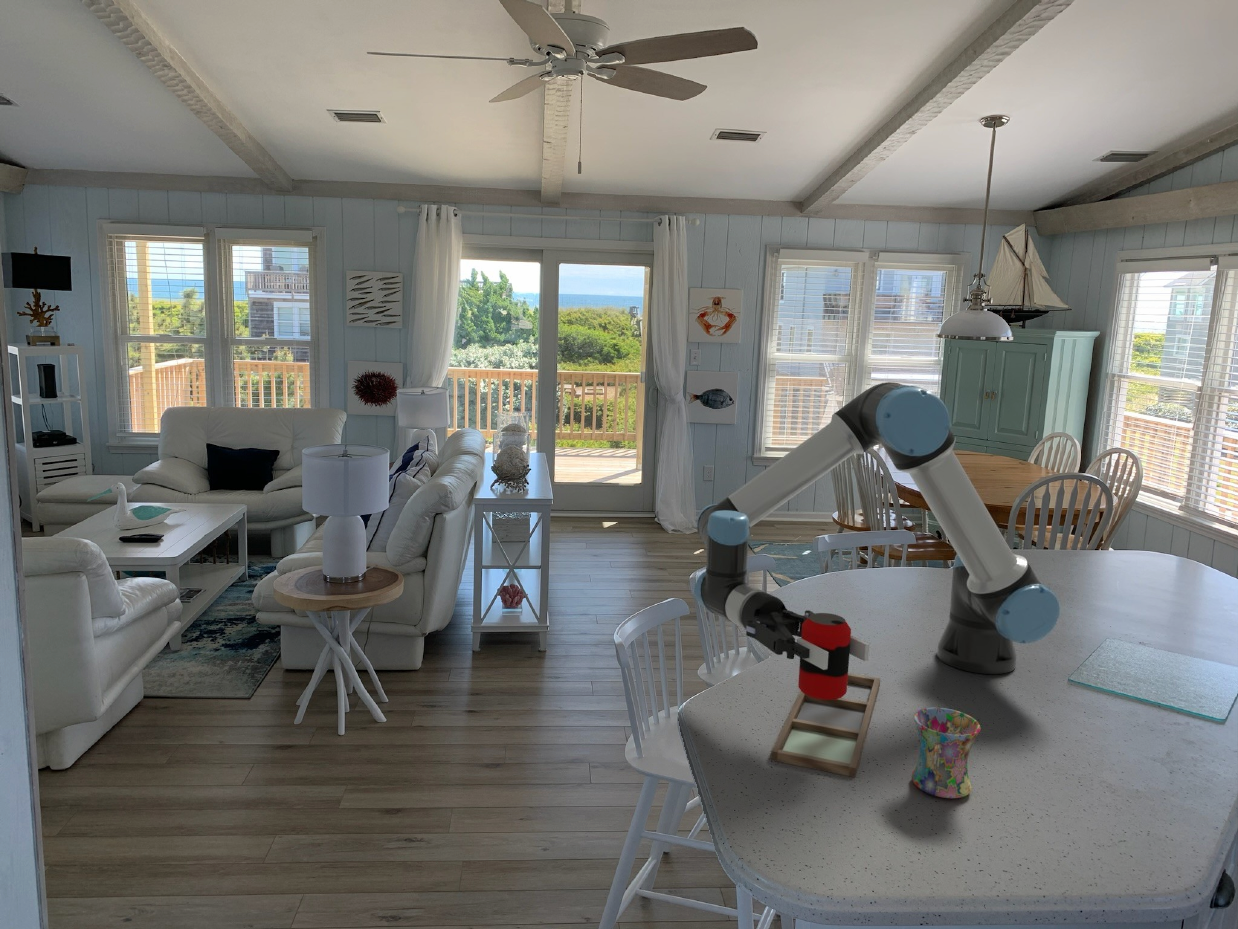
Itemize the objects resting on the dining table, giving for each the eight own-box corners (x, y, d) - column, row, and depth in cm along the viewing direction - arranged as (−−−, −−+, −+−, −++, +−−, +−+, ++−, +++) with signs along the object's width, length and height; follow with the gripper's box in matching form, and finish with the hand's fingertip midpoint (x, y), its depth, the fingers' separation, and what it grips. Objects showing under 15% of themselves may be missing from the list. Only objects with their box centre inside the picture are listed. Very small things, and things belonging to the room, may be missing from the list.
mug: (916, 765, 138) (921, 702, 136) (979, 782, 133) (985, 717, 131) (897, 800, 128) (902, 732, 126) (964, 820, 123) (971, 749, 121)
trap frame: (879, 686, 168) (880, 678, 168) (855, 777, 134) (855, 768, 134) (811, 674, 173) (811, 667, 172) (770, 759, 139) (771, 751, 138)
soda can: (827, 705, 135) (832, 630, 133) (788, 688, 141) (792, 617, 139) (856, 692, 140) (861, 620, 138) (817, 677, 146) (821, 607, 144)
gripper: (801, 623, 160) (893, 668, 141) (707, 640, 151) (792, 691, 131) (803, 584, 159) (897, 624, 139) (709, 598, 150) (795, 643, 130)
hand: (846, 656), depth 135 cm, fingers closed on soda can, 7 cm apart
